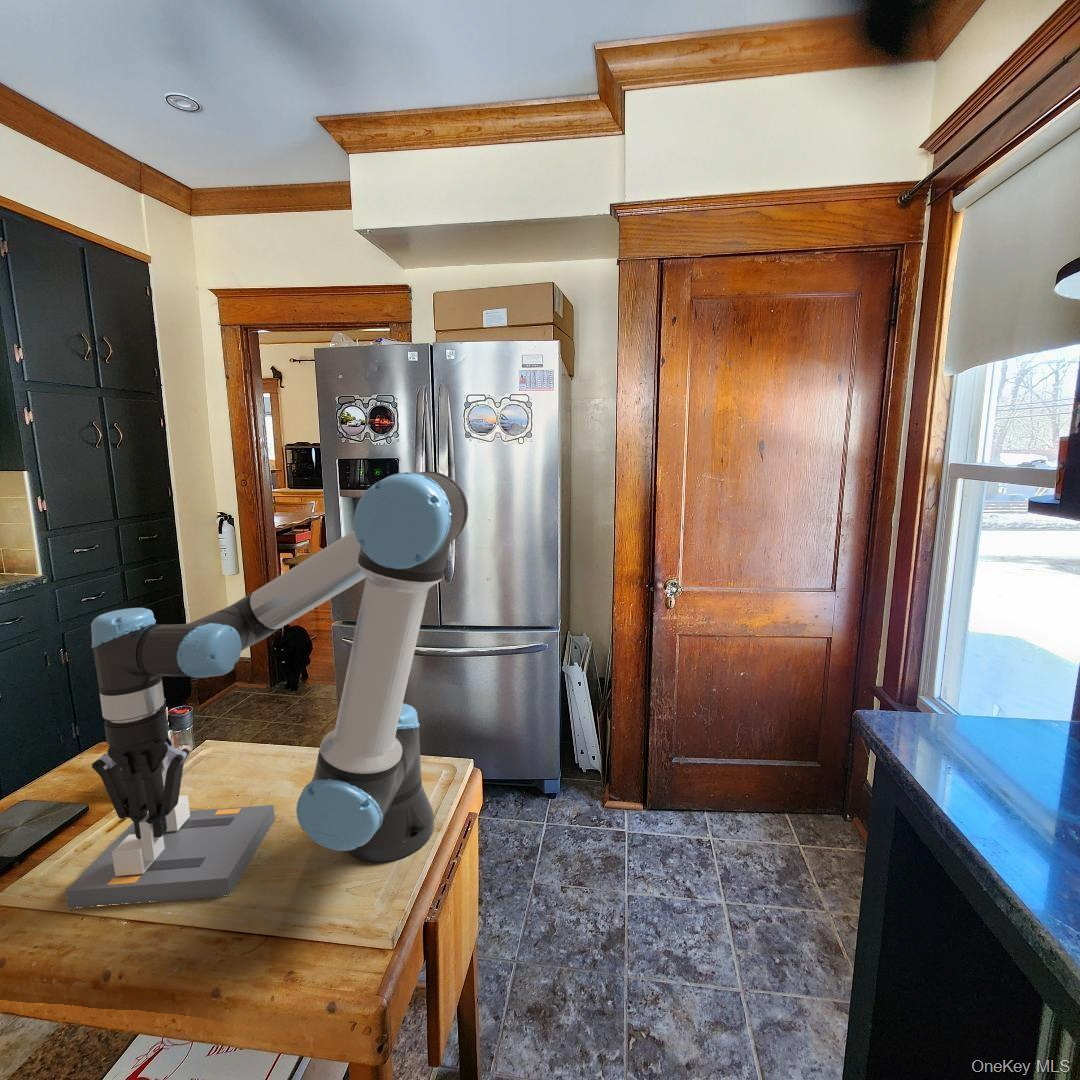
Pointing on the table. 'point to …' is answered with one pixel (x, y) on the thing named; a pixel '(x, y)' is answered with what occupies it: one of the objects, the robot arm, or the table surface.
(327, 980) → the table surface
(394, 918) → the table surface
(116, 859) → the tab left
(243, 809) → the switch panel
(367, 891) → the table surface
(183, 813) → the tab right
